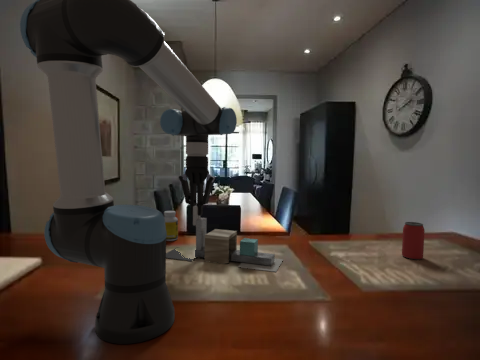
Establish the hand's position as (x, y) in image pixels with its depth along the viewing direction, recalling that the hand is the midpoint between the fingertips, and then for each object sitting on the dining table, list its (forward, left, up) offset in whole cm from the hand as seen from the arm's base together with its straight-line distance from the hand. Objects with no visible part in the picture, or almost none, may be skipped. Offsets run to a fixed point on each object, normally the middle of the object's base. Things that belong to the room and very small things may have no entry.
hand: (196, 224), depth 107 cm
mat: (0, -23, -11) cm, 26 cm away
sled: (0, -14, -10) cm, 17 cm away
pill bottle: (+16, +20, -11) cm, 28 cm away
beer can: (+25, -71, -11) cm, 76 cm away
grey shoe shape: (0, +5, -11) cm, 12 cm away
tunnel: (0, -9, -11) cm, 14 cm away
